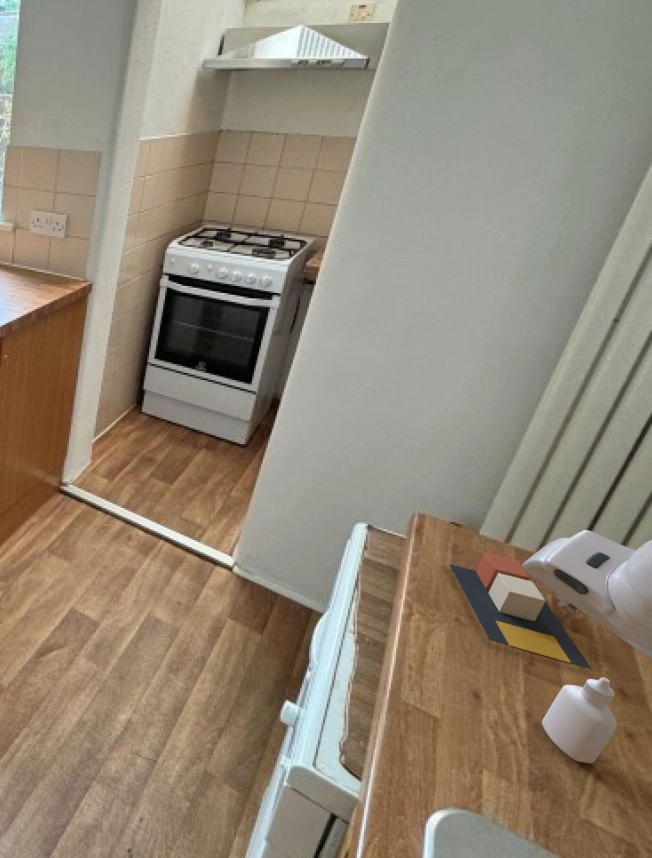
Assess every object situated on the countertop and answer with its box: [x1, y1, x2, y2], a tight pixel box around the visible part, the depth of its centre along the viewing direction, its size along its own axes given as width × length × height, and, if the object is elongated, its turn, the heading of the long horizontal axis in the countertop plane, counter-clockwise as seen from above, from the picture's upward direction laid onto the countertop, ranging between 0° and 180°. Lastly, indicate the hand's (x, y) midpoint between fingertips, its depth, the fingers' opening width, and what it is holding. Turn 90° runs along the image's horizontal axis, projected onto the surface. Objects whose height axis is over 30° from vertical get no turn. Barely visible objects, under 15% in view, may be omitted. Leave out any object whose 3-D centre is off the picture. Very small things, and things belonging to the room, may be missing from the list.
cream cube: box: [489, 573, 546, 621], centre depth 100 cm, size 4×4×4 cm
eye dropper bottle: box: [541, 676, 618, 764], centre depth 78 cm, size 4×6×12 cm
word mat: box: [448, 564, 592, 670], centre depth 100 cm, size 12×18×1 cm, turn 155°
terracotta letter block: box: [475, 551, 531, 590], centre depth 104 cm, size 4×4×4 cm
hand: (616, 639), depth 73 cm, fingers open, 8 cm apart
